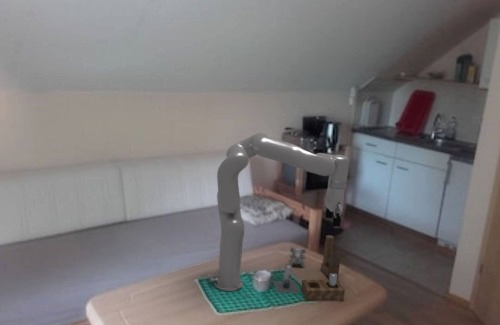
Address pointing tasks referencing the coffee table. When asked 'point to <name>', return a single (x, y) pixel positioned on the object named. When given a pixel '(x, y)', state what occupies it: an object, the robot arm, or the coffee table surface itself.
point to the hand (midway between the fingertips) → (332, 221)
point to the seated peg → (332, 280)
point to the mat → (281, 289)
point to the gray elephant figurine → (297, 256)
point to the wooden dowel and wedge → (330, 258)
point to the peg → (287, 276)
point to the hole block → (322, 291)
